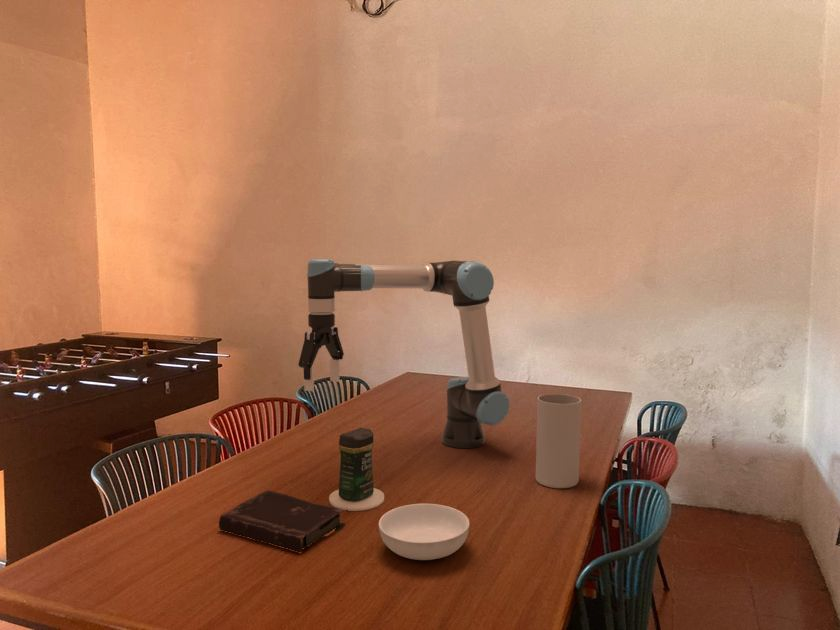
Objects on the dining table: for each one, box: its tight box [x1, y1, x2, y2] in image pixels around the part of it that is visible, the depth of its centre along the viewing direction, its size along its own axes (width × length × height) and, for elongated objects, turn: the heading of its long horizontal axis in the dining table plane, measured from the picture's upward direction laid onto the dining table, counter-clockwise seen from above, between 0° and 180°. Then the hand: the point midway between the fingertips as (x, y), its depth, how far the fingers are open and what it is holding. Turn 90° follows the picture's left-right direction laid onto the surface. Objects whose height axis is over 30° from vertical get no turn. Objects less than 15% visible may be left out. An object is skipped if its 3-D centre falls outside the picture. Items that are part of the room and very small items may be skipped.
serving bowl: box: [378, 503, 470, 561], centre depth 154 cm, size 21×21×7 cm
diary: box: [218, 489, 346, 553], centre depth 165 cm, size 19×25×5 cm
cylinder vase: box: [535, 393, 582, 489], centre depth 196 cm, size 12×12×25 cm
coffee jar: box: [338, 427, 375, 501], centre depth 182 cm, size 10×8×19 cm
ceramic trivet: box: [328, 487, 385, 512], centre depth 182 cm, size 15×15×1 cm
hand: (322, 385), depth 193 cm, fingers open, 13 cm apart
